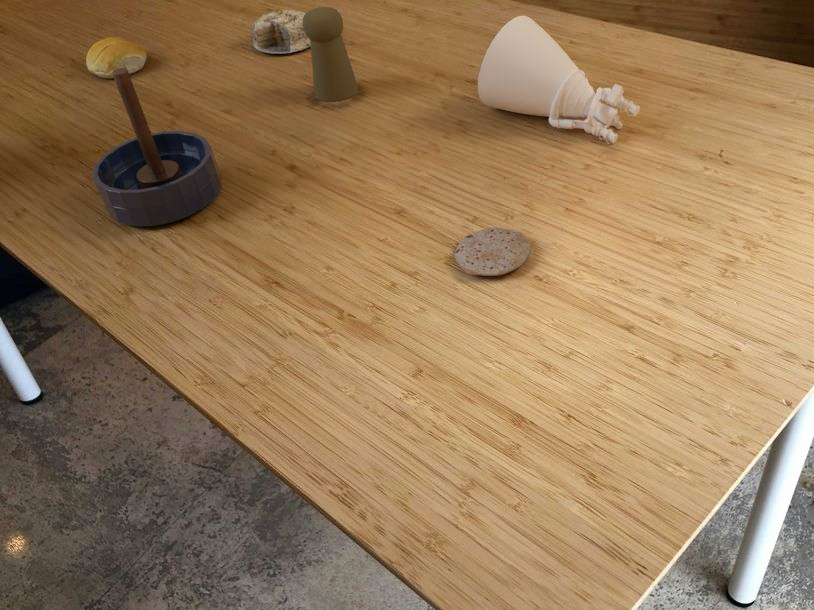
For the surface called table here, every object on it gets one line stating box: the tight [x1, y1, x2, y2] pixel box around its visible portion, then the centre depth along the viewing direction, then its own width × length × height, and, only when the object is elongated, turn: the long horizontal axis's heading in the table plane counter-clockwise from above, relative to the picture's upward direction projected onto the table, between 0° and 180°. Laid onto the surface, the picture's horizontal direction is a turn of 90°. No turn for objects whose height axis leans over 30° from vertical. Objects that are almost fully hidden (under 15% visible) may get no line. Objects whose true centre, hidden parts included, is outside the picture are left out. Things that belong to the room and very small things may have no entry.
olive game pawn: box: [303, 6, 359, 102], centre depth 112 cm, size 6×6×11 cm
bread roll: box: [85, 36, 148, 80], centre depth 126 cm, size 8×9×4 cm
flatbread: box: [454, 226, 532, 277], centre depth 86 cm, size 8×8×1 cm
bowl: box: [91, 130, 222, 227], centre depth 98 cm, size 13×13×5 cm
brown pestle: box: [112, 68, 183, 189], centre depth 94 cm, size 5×5×15 cm
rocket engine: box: [477, 15, 641, 145], centre depth 102 cm, size 12×12×18 cm
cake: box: [251, 8, 311, 55], centre depth 128 cm, size 10×10×5 cm
